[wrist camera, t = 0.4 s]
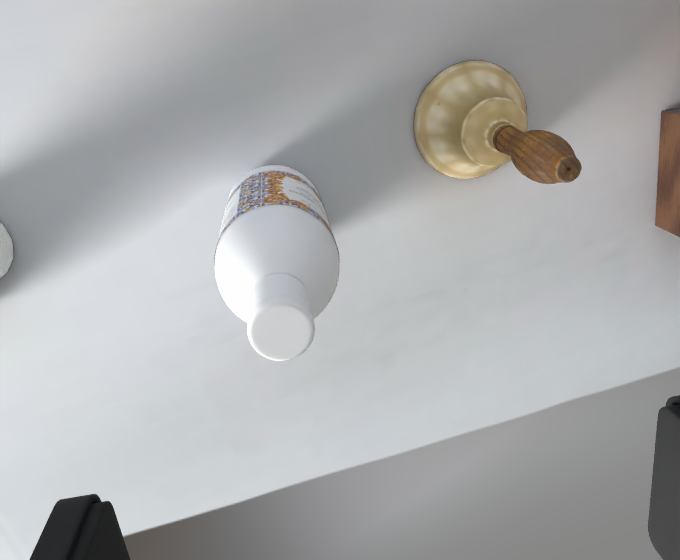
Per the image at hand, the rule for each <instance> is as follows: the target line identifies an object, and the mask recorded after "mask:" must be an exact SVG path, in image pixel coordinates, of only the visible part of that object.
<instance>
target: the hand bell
mask: <svg viewBox="0 0 680 560" xmlns="http://www.w3.org/2000/svg"><path fill="white" fill-rule="evenodd" d="M414 134H415V139H416V143H417V146H418V148H419V151H420V152H421V154H422V156H423V157H424V159H425V160H426V161H427V162H428V164H429V165H430V166H432V167H433V168H434V169H436V170H437V171H438V172H440V173H442V174H444V175H447V176H450V177H454V178H460V179H469V178H476V177H480V176H483V175H486V174H488V173H490V172H492V171H494V170H496V169H497V168H499V167H500V166H501V165H503V164H505V163H507V162H509V161H510V160H512V161H513V163H514V165H515V167H516V168H517V169H518V170H519V171H520V172H521V173H522V174H523V175H525V176H526V177H528V178H529V179H531V180H533V181H536V182H539V183H545V184H553V183H558V182H564V183H565V182H571V181H573V180H575V179H576V178H577V177H578V176H579V174H580V171H581V163H580V162H579V160H578V159H577V158H576V156H575V153H574V151H573V149H572V148H571V146H570V145H569V144H568V143H567V142H566V141H565V140H564V139H563V138H561V137H560V136H558V135H556V134H553V133H551V132H547V131H542V130H530V131H528V124H527V119H526V103H525V99H524V95H523V92H522V90H521V88H520V86H519V84H518V83H517V81H516V80H515V79H514V78H513V76H512V75H511V74H510V73H508V72H507V71H506V70H504V69H503V68H501V67H500V66H498V65H496V64H493V63H490V62H485V61H477V60H474V61H465V62H461V63H458V64H455V65H452V66H450V67H448V68H447V69H445V70H444V71H442V72H441V73H439V74H438V75H437V76H436V77H435V78H434V79H433V80H432V81H431V82H430V83H429V84H428V86H427V87H426V89H425V90H424V92H423V93H422V95H421V97H420V99H419V101H418V105H417V107H416V111H415V116H414Z"/></svg>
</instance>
